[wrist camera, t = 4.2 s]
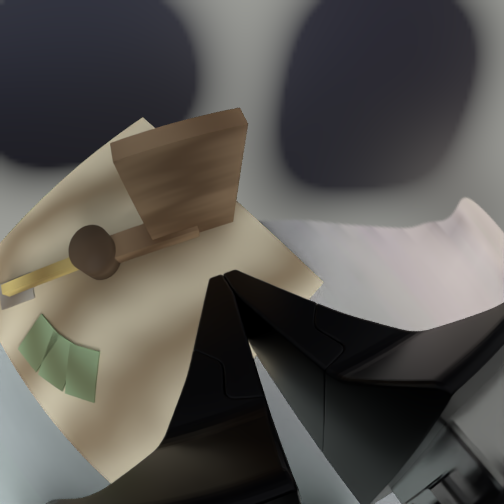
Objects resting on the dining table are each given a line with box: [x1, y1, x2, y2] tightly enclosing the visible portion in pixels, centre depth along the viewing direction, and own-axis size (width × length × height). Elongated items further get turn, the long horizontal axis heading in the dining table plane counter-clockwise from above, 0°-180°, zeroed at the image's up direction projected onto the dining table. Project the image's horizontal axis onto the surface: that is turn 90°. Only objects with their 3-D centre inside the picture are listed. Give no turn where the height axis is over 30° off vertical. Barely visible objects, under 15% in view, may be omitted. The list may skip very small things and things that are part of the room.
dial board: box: [0, 118, 324, 483], centre depth 19 cm, size 20×21×1 cm
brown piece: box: [1, 108, 248, 297], centre depth 14 cm, size 18×3×10 cm, turn 111°
